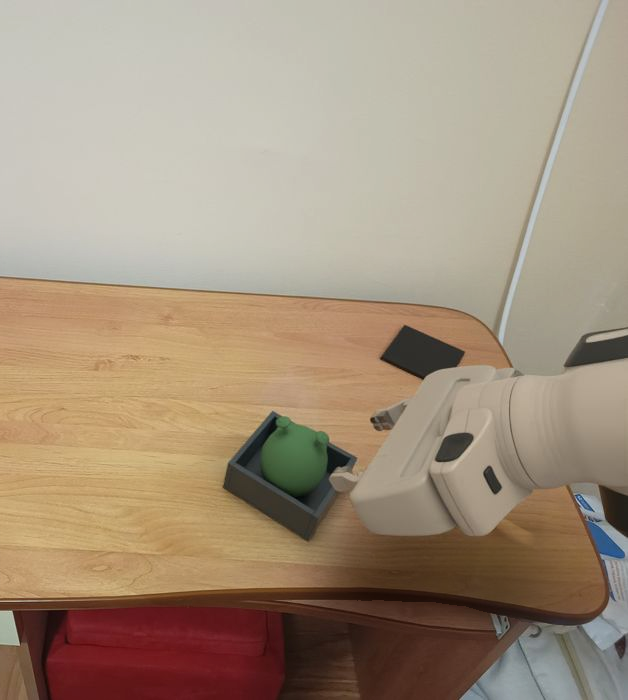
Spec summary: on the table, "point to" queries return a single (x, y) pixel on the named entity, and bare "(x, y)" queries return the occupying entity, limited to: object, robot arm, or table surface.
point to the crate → (270, 500)
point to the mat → (421, 353)
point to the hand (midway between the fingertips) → (355, 448)
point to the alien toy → (294, 458)
